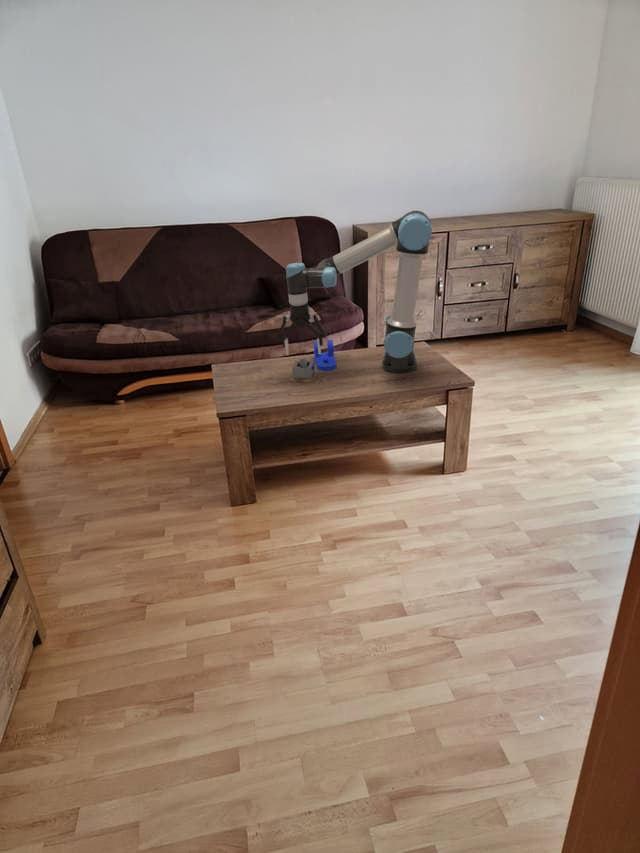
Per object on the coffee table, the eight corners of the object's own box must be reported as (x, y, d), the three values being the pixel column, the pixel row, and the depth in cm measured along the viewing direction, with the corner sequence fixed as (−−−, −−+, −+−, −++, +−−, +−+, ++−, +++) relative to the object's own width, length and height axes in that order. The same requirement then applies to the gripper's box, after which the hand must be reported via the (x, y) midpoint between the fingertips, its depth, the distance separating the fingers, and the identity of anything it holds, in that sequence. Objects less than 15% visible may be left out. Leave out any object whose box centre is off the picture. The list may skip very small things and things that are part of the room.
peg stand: (317, 373, 245) (316, 355, 241) (314, 382, 236) (312, 364, 232) (294, 373, 246) (293, 355, 242) (290, 382, 237) (289, 364, 234)
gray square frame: (314, 371, 243) (314, 360, 241) (312, 378, 236) (311, 367, 234) (296, 371, 245) (295, 361, 242) (293, 378, 237) (292, 367, 235)
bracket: (314, 358, 263) (313, 339, 259) (332, 356, 264) (331, 337, 260) (318, 371, 247) (317, 352, 243) (337, 370, 248) (336, 350, 244)
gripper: (330, 299, 228) (334, 349, 237) (270, 302, 232) (276, 351, 241) (328, 304, 221) (332, 355, 231) (266, 307, 225) (272, 357, 235)
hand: (303, 353), depth 236 cm, fingers open, 13 cm apart
